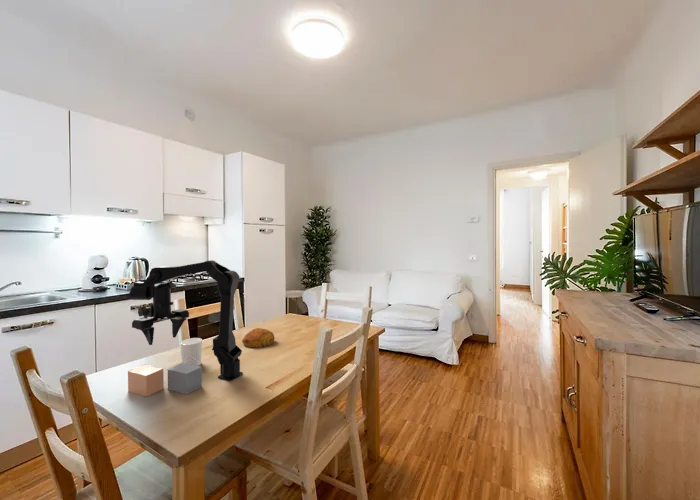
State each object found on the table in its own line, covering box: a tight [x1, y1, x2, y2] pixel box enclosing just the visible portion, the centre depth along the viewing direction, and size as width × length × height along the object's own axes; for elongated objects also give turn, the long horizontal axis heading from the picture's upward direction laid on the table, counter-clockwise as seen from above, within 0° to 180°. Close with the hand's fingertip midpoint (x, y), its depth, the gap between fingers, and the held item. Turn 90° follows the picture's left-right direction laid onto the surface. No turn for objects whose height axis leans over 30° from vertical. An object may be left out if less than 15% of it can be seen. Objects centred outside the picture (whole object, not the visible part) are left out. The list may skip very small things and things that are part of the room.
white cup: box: [180, 337, 203, 366], centre depth 124 cm, size 8×8×10 cm
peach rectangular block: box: [127, 364, 165, 397], centre depth 103 cm, size 9×6×7 cm, turn 69°
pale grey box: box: [167, 362, 203, 395], centre depth 105 cm, size 9×6×7 cm, turn 69°
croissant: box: [241, 327, 275, 349], centre depth 151 cm, size 14×16×8 cm
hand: (162, 341), depth 114 cm, fingers open, 9 cm apart
